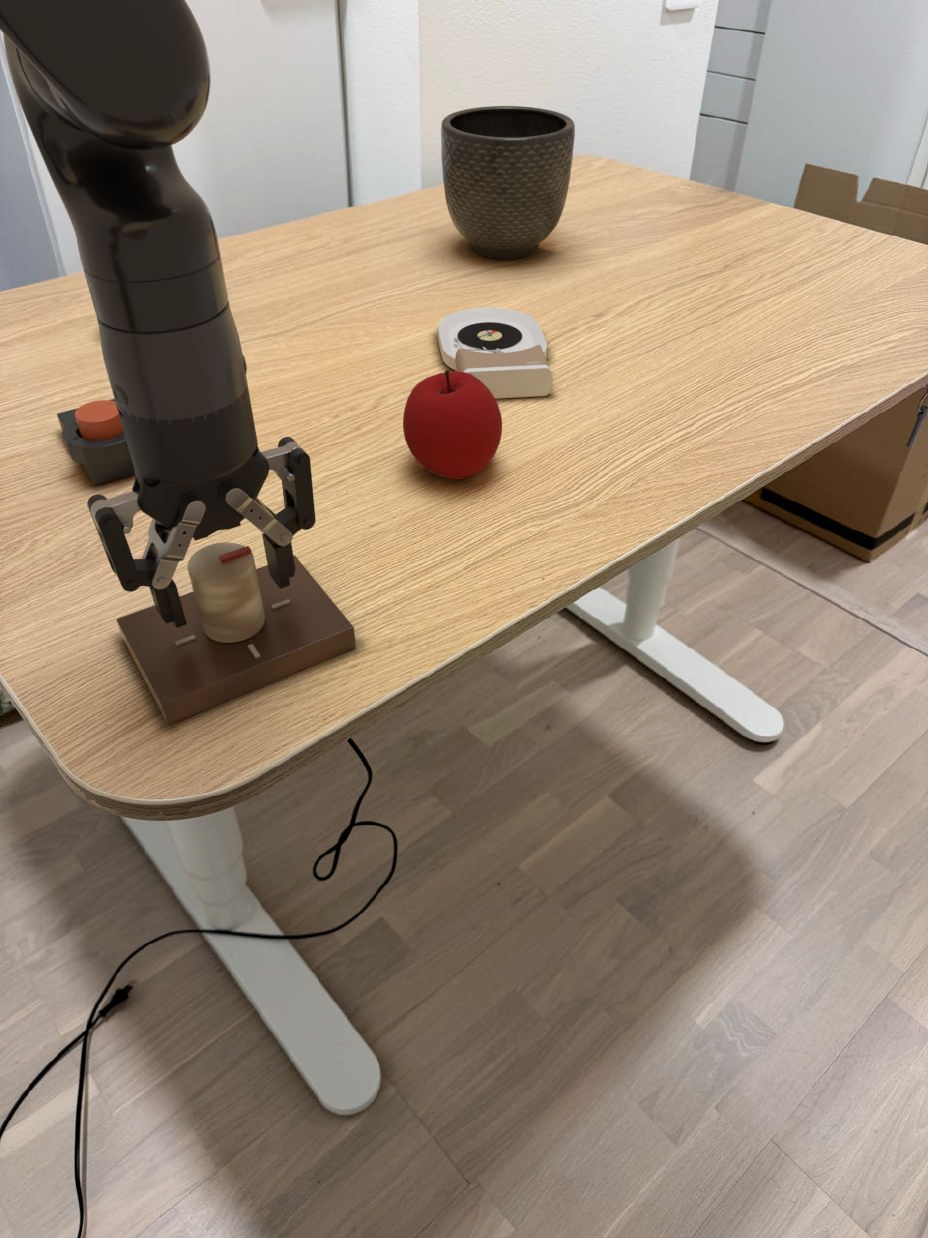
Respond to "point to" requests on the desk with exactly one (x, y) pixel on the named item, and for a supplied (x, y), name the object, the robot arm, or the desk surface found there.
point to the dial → (227, 591)
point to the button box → (96, 451)
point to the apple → (452, 424)
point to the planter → (506, 176)
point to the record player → (497, 350)
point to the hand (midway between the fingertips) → (229, 599)
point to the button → (99, 420)
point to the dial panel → (235, 646)
